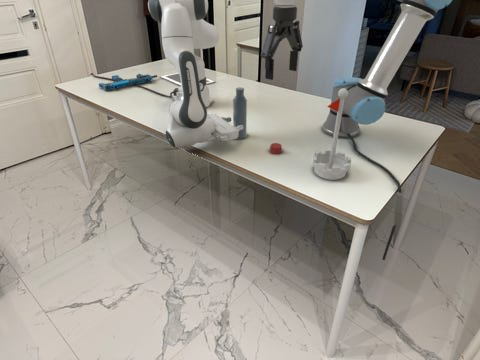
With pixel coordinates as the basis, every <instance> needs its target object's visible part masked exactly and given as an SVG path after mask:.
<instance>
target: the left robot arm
mask: <svg viewBox="0 0 480 360" xmlns="http://www.w3.org/2000/svg"><path fill="white" fill-rule="evenodd" d="M147 8H148V11H149V14H150V16H151V19H153V20H154V21H155V22H158V24H161V26H160V29H161V44H162V49H163V53H164V57H165V59H166V60H167V61H168V62H169V63H170V64H171V65H172V66H174V68H175V69H176V70H177V73H178V72H179V75H180V79H181V86H179V87H175V88H174V89H173V90H172V91H171V92H170V93H169V95H167V94H163V93H161V92H158V91H156V90H154V89H151V88H148V87H145V86H143V85H139V84H134V85H133V86H134V87H138V88H142V89H143V90H147V91H150V92H152V93H154V94H157V95H158V96H162V97H165V98H173V100H174V101H172V102H171V103H170V105H169V108H168V114H169V117H168V125H167V128H166V129H165V137H166V140H167V142H168V143H169V144H170V146H171V147H173V148H175V149H182V148H188V147H192V146H194V145H196V144H199V143H200V144H204V143H207V142H210V141H214V140H215V139H217V140H220V141H223V142H226V141H231V140H232V141H233V140H236V139H237V138H238V132H239V131H240V130H242V129H243V125H241V124H240V125H238V126H237V127H234V126H233V125H232V124H231V122H232V117H231V116H219V115H217V113H208V110H207V108H208V107H209V106H210V105H211V104H212V103H213V99H212V98H211V94H210V88H209V86H208V84H206V78H207V76H206V68H205V66H206V65H205V61H204V60H203V58H201V57H200V56H198V55H196V54H195V50H202V49H203V50H206V49H211V48H215V47H216V46H217V44H218V41H219V37H220V35H219V31H218V29H217V27H216V26H215V25H214V24H211V23H210V22H207V21H206V20H205V18H206V16H207V13H208V11H209V1H208V0H148V1H147ZM90 76H92V77H94V78H99V79H103V80H108V81H112V82H114V79H112V78H111V77H110V78H109V77H104V76H100V75H95V74H94V73H93V72H91V73H90ZM237 140H238V139H237Z"/></svg>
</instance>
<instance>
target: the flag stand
mask: <svg viewBox="0 0 480 360" xmlns="http://www.w3.org/2000/svg"><path fill="white" fill-rule="evenodd" d="M338 95H339V97H340V98H339V99H338V100H336V101H335V102H333V103H332V104H331V103H330V104H328V105H326V107H327V108H329V109H330V108H331V109H333V110H336V111H338V112H337V118H336V124H335V130H334V136H332V143H331V148H330V149H329V148H328V149H324V152H321V151H320V150H317V151H315V152H314V154H313V155H314V156H312V166H313V168H314V169H313V170H314V173H315V174H316V175H317V176H318V177H320V178H322V179H325V180H330V181H333V180H340V179H343V178H345V176H346V173H347V172H348V171H350V169H351V166H352V158H351V157H350V156H346V153H345V152H343V151H339V150H338V151H337V145H338V138H339V137H338V134H339V128H340V123H341V117H342V111H343V105H344V99H345V97H346V96H347V95H348V91H347V90H346V89H344V88H342V89H340V90H339V92H338ZM336 151H337V152H336Z"/></svg>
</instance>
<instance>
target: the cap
mask: <svg viewBox="0 0 480 360" xmlns="http://www.w3.org/2000/svg"><path fill="white" fill-rule="evenodd" d="M282 147H283V146H282V144H281V143H279V142H273V143H270V145H269V152H270V153H271V154H273V155H279V154H281V153H282V150H283V149H282Z"/></svg>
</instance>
